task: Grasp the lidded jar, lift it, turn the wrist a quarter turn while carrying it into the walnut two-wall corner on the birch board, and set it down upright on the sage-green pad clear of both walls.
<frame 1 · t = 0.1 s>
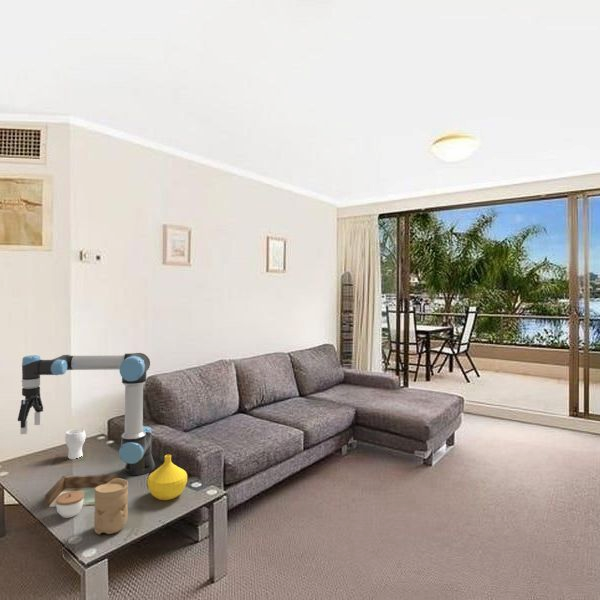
hand: (31, 429, 208), 28 cm above the table, fingers open, 13 cm apart
container: (111, 528, 173), on the table
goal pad: (91, 496, 198), resting on board
cup: (75, 457, 244), on the table
vase: (167, 495, 201), on the table
board: (83, 496, 199), on the table
walls: (83, 496, 199), resting on board
lidded jar: (70, 514, 183), on the table
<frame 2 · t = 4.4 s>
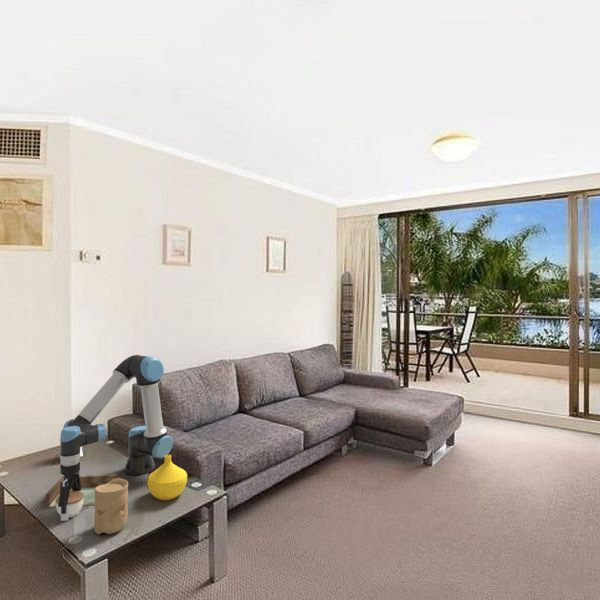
hand: (69, 513, 183), 0 cm above the table, fingers closed on lidded jar, 11 cm apart
lidded jar: (69, 514, 183), on the table, touching gripper
everything else where it was.
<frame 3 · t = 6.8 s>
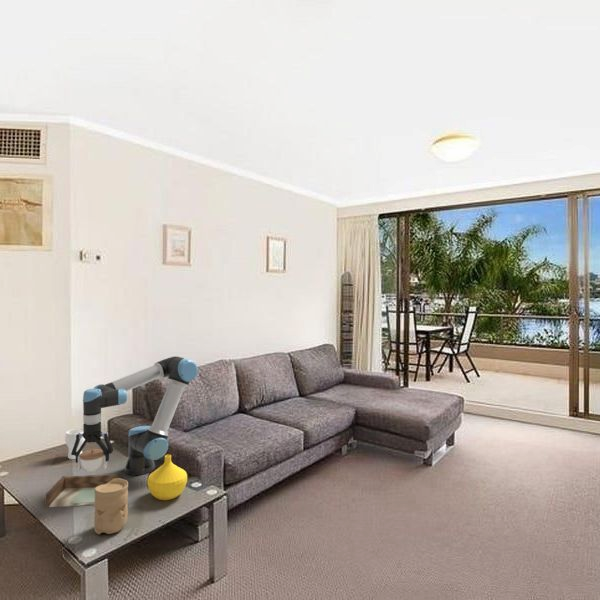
hand: (92, 468, 198), 14 cm above the table, fingers closed on lidded jar, 11 cm apart
lidded jar: (92, 469, 198), point 13 cm above the table, touching gripper
everything else where it was.
when the fingers open (3 cm above the table, at t = 9.4 s): lidded jar drops 1 cm, resting on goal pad.
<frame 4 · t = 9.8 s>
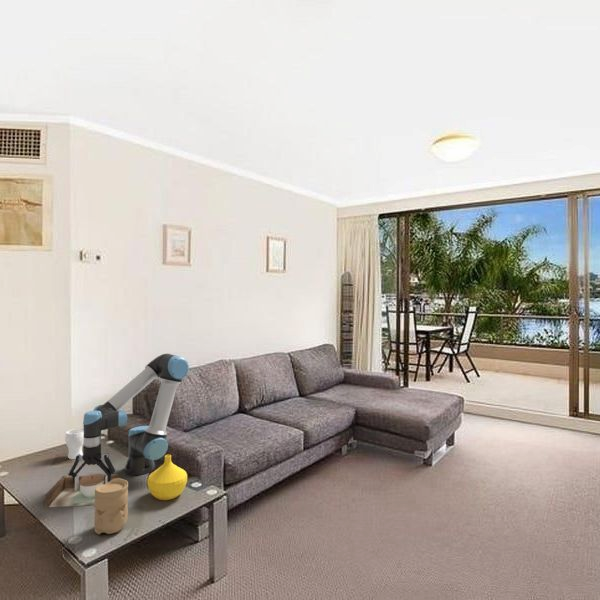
hand: (92, 489, 198), 4 cm above the table, fingers open, 13 cm apart
lidded jar: (92, 495, 198), point 1 cm above the table, touching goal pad
everything else where it was.
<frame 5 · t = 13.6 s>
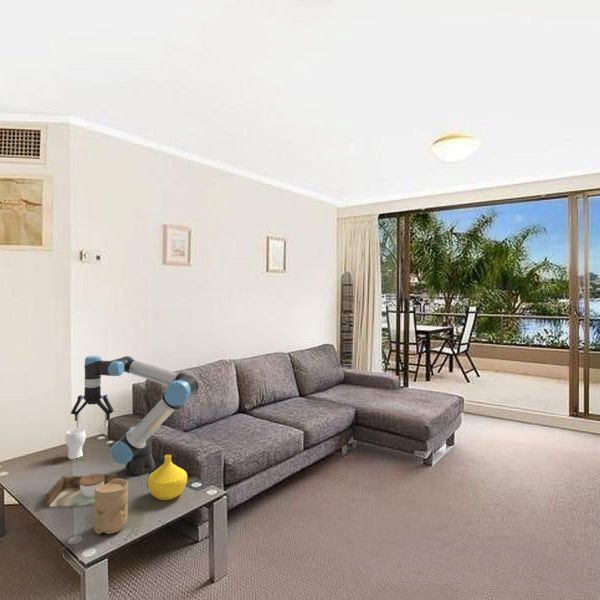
hand: (92, 426, 218), 27 cm above the table, fingers open, 13 cm apart
nothing on the table moved.
at the end: lidded jar 0.1 cm from the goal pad (horizontally); lidded jar tilted 0°; lidded jar touching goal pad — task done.
